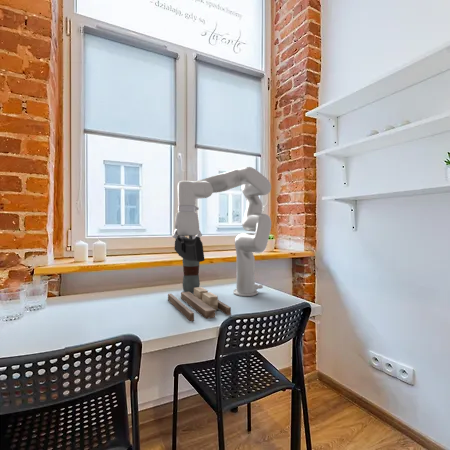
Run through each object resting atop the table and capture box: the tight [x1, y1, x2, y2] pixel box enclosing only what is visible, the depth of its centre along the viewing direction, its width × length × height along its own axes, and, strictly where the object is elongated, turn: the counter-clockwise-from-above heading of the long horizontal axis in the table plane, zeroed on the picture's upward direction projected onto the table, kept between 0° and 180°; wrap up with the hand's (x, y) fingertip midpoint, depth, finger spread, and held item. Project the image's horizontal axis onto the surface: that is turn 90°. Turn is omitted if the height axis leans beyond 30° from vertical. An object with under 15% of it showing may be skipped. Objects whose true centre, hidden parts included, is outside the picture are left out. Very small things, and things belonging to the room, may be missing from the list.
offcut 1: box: [193, 286, 209, 300], centre depth 141 cm, size 4×8×6 cm, turn 26°
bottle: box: [182, 236, 201, 294], centre depth 161 cm, size 9×9×30 cm
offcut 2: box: [202, 291, 219, 311], centre depth 131 cm, size 4×8×6 cm, turn 26°
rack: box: [167, 291, 232, 322], centre depth 133 cm, size 18×32×3 cm, turn 26°
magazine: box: [174, 235, 205, 263], centre depth 129 cm, size 17×3×30 cm
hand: (187, 251), depth 130 cm, fingers closed on magazine, 3 cm apart
